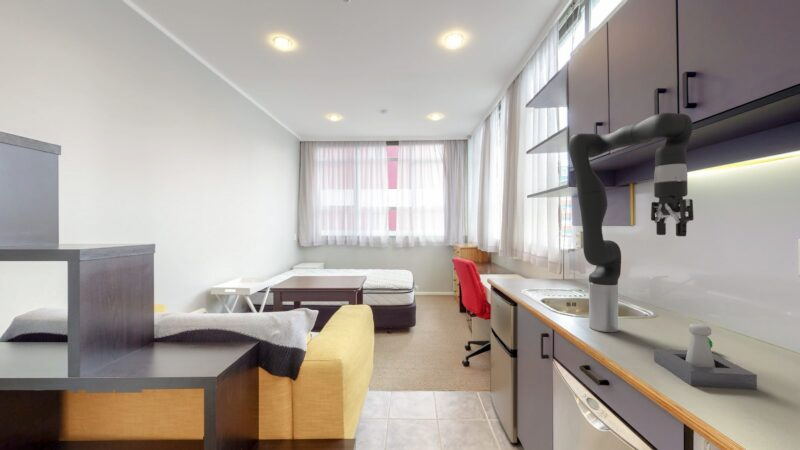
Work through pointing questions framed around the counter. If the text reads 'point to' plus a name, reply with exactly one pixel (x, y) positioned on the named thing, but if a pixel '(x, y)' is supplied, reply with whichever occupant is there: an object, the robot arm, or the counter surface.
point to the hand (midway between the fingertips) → (670, 235)
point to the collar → (706, 371)
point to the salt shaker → (700, 346)
